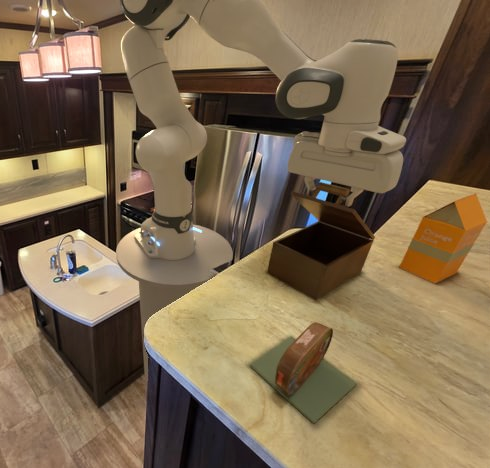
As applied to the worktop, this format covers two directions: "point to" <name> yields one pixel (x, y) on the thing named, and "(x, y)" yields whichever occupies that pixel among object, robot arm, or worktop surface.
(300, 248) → the brown open box
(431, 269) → the orange juice
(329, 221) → the lid
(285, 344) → the mat
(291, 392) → the tin
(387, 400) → the worktop surface
